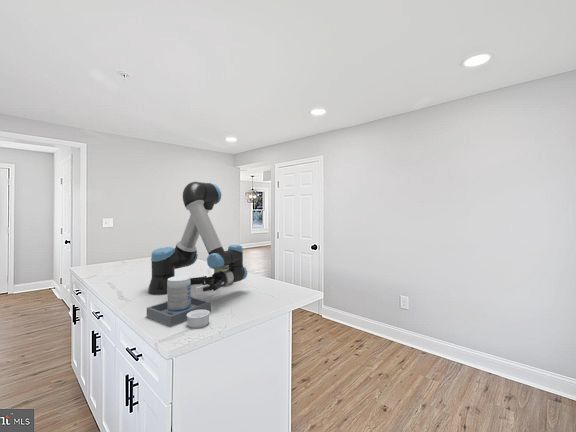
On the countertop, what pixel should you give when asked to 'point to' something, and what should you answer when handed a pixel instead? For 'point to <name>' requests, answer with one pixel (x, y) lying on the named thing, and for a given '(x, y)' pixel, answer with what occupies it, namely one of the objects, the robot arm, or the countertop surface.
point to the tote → (162, 315)
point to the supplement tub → (178, 294)
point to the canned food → (222, 270)
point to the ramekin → (198, 318)
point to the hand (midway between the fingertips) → (186, 288)
